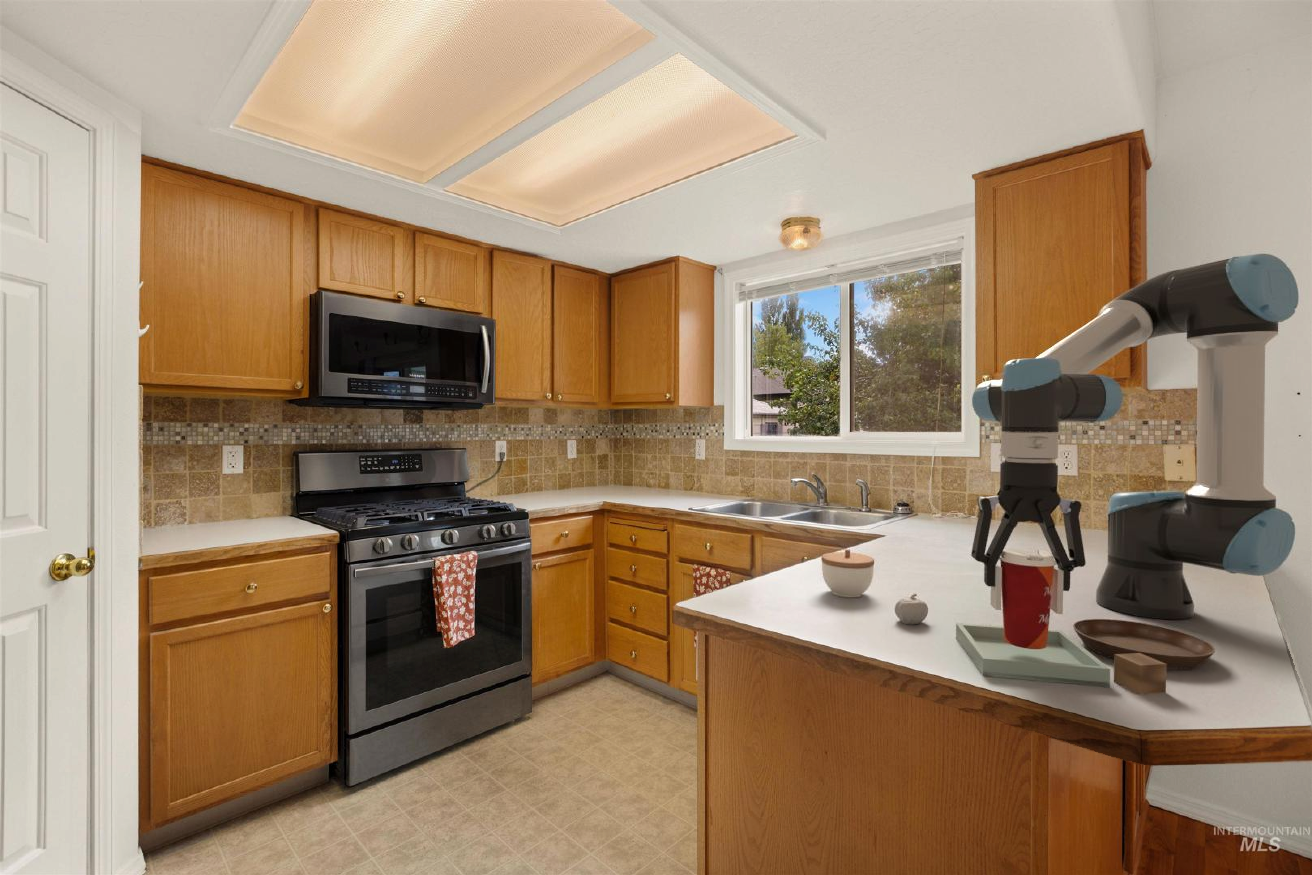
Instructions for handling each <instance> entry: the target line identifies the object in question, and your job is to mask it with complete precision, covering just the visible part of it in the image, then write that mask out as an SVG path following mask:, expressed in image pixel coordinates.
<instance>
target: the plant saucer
mask: <svg viewBox="0 0 1312 875" xmlns="http://www.w3.org/2000/svg"><path fill="white" fill-rule="evenodd" d="M1072 627H1073V630H1074V631H1075V633H1076V635H1077V636H1078V637H1079V638H1080V640H1081V641H1082V642H1083V643H1084V644H1085V645H1086V646H1087V647H1088V648H1089V649H1091V650H1092V651H1094V652H1096V653H1098V654H1099V655H1102V656H1105V657H1107V658H1111V659H1113V660H1114V654H1130V653H1141V654H1143V655H1146V656H1148V657H1151V658H1153V659H1155V660H1158V661H1160V662H1163V663H1165V664H1167V666H1166V670H1189V669H1195V668H1196V667H1199V666H1200V665H1202V664H1203V663H1205V662H1206V661H1207V660H1208V659H1210V658H1211V657H1212V656H1213V655H1214V654H1215V652H1216V648H1215V647H1214V645H1212V644H1211V643H1210V642H1208V641H1206V640H1204V639H1203V638H1200V637H1197V636H1195V635H1193V634H1190V633H1185V632H1182V631H1181V630H1175V629H1172V628H1167V627H1164V626H1159V625H1155V624H1148V623H1143V622H1136V621H1131V620H1120V619H1109V618H1092V619H1091V618H1090V619H1088V618H1087V619H1082V620H1078V621H1075V622H1074V623H1073V626H1072Z"/></svg>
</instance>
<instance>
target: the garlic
mask: <svg viewBox="0 0 1312 875" xmlns="http://www.w3.org/2000/svg"><path fill="white" fill-rule="evenodd" d="M917 596H918V594H917V593H912V595H911V596H910V597H908V596H906V597H903V598H901V599H899V600H898V601H897V602H896V604H895V606H894V613H895V615H896V617H897V618H898V619H899V621H900V622H902V623H904V624H905V625H917V624H922V622H924V620H926V618H927V616H928V613H929V607H928V605H927V603H926V602H925V601H924V600H921V599H918V598H916V597H917Z"/></svg>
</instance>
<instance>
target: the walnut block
mask: <svg viewBox="0 0 1312 875" xmlns="http://www.w3.org/2000/svg"><path fill="white" fill-rule="evenodd" d="M1166 666H1167V664H1165V663H1163V662H1160V661H1158V660H1155V659H1153V658H1151V657H1148V656H1146V655H1143V654H1141V653H1130V654H1114V659H1113V682H1114V683H1116V684H1118V685H1119V686H1121V687H1124V688H1125V689H1127V690H1130V691H1132V692H1134V693H1136V694H1138V695H1149V694H1150V695H1151V694H1152V695H1153V694H1166V693H1167V669H1166Z"/></svg>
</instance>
